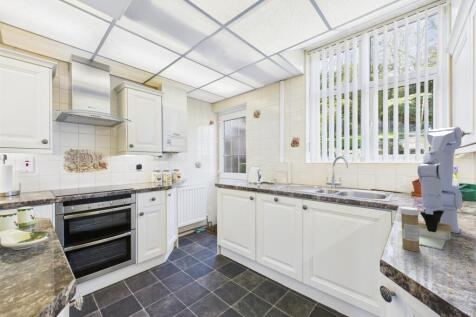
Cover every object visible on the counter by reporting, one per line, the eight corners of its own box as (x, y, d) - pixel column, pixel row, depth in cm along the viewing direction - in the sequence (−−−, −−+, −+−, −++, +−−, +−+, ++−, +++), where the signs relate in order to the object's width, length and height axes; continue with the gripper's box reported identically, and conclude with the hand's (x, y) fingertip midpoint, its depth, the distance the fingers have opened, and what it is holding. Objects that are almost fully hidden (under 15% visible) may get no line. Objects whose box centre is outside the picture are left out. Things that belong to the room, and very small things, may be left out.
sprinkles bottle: (403, 245, 68) (402, 206, 69) (421, 249, 65) (419, 208, 65) (400, 248, 65) (398, 207, 66) (419, 253, 62) (417, 210, 62)
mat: (419, 236, 76) (419, 235, 76) (445, 241, 71) (445, 240, 71) (413, 243, 69) (413, 242, 69) (441, 249, 64) (441, 248, 64)
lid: (418, 224, 81) (417, 216, 81) (451, 229, 74) (451, 221, 74) (415, 227, 78) (415, 218, 78) (450, 233, 71) (449, 224, 71)
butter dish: (419, 232, 81) (419, 224, 81) (450, 237, 74) (450, 229, 74) (417, 234, 78) (416, 227, 78) (449, 241, 71) (448, 232, 71)
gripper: (421, 191, 84) (422, 224, 84) (413, 195, 75) (415, 231, 74) (444, 193, 79) (446, 227, 78) (440, 197, 69) (442, 236, 69)
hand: (433, 230), depth 76 cm, fingers closed on lid, 5 cm apart
